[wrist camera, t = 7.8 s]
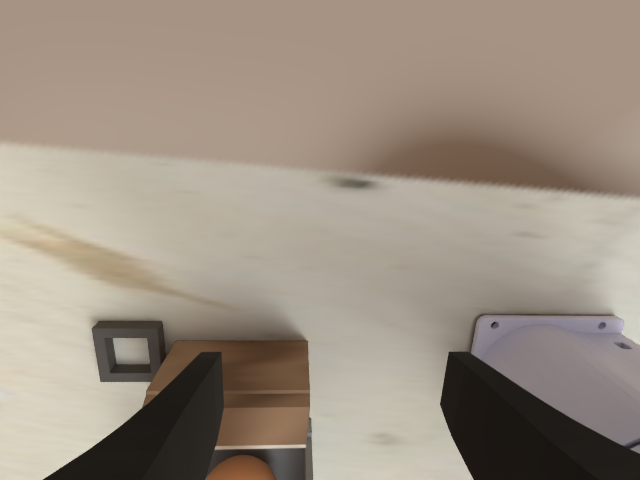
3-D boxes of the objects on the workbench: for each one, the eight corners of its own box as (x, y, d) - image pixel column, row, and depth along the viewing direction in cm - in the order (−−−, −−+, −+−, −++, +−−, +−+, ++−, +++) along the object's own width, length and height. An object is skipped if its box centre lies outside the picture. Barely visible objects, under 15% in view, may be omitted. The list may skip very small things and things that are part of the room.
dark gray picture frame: (162, 321, 21) (157, 328, 20) (167, 372, 22) (162, 381, 21) (99, 321, 21) (91, 328, 20) (107, 373, 22) (100, 382, 21)
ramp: (307, 340, 22) (310, 398, 17) (305, 416, 24) (306, 487, 19) (175, 340, 21) (140, 400, 17) (182, 417, 23) (152, 491, 18)
